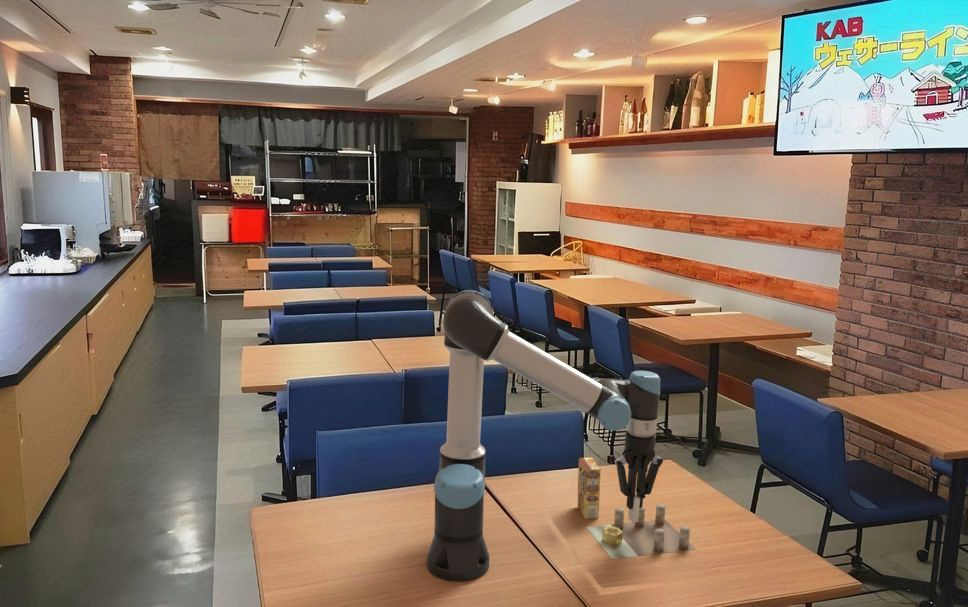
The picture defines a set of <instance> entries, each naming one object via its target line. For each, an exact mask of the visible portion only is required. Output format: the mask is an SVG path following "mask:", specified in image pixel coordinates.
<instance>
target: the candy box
mask: <svg viewBox="0 0 968 607" xmlns="http://www.w3.org/2000/svg"><path fill="white" fill-rule="evenodd" d="M601 469H602V468H600V466H599V465H598V464H597V462H596V461H595V459H594V458H593V457H579V458H578V473H577V474H578V477H577V478H578V479H577V505H576V506H577V509H579V511H580V513H581V515H582V516H583V517H584V519H599V517H600V516H599V515H600V494H601V487H600V486H601V471H602V470H601Z"/></svg>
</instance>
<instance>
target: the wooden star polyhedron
mask: <svg viewBox="0 0 968 607" xmlns="http://www.w3.org/2000/svg"><path fill="white" fill-rule="evenodd" d="M622 535H623V532H622V531H621V530H620V529H619V528H616V527H610V526H608V527H606V528H604V529H603V533H602V540H603V541H604V542H605V544H607V545H614V546H617V545H619V544H620V543H622Z"/></svg>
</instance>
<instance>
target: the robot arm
mask: <svg viewBox="0 0 968 607" xmlns="http://www.w3.org/2000/svg"><path fill="white" fill-rule="evenodd" d="M442 327H443V330H444V335H443V336H444V341H443V344H444V347H445V348H446V349H447V350H448V351H449V365H448V366H449V367H448V368H449V369H448V391H447V392H448V394H447V413H446V414H447V415H446V416H447V419H446V420H447V421H446V442H444V443H443V445H441V446H440V448H439V467H438V468H439V470H438V472H437V474H436V476H435V480H434V484H433V491H434V534H433V535H434V536H433V537H432V540H431V543H430V545H429V549H428V551H427V553H426V554H427V555H426V568H427V570H428V572H429V573H430V574H431V575H433V576H435V577H437V578H439V579H442V580H444V581H445V580H446V581H452V582H466V581H471V580H475V579H478V578H480V577H482V576H484V575H485V573H487V572H488V570H489V569H490V552H489V550H488V547H487V544H486V540H485V537H484V529H483V528H484V497H485V495H484V494H485V488H486V486H485V478H486V477H485V476H486V448H485V447H484V446H483V445H482V444H481V432H482V431H481V429H482V413H483V411H482V409H483V388H484V368H485V367H484V366H485V362H488V361H495V362H497V363H498V364H500V365H502V366H504V367H505V368H506V369H507V368H508V369H509V370H510V371H512V372H514V373H516V374H518V375H519V376H521V377H523V378H525V379H526V380H528V381H530V382H532V383H533V384H535V385H536V386H538V387H540V388H542V389H544V390H545V391H547V392H548V393H551V394H553V395H554V396H556V397H558V398H559V399H562V400H563V401H565V402H567V403H569V404H570V405H572V406H574V407H576V408H577V409H579V410H581V411H582V412H585V413H586V414H588V415H589V416H591V417H593V418H595V419H597V420H598V422H599V423H600V424H601V425H602V426H603V427H604V428H605V429H607V430H609V431H612V432H613V431H614V432H616V431H617V432H618V431H620V430H623V429H624V428H625V430H626V431H625V434H624V435H625V436H624V449H623V451H622V455H621V456H619V457H614V458H613V462H614V464H615V466H616V469H617V470H616V471H617V472H616V473H617V478H618V484H619V488H620V489H619V490H620V492H621V493H622V495H624V496H625V497H626V505H625V506H626V507H627V509H628V514H627V515H628V516H627V517H628V519H629V520H630V522H638V517H639V508H642V506H643V504H644V499H645V498H646V495H648V496H649V495H651V493H652V490H653V487H654V484H655V481H656V478H657V475H658V472H659V469H660V467H662V465H663V463H664V460H663V459H662V458H661V456H659V455H656V451H655V447H656V438H657V436H656V433H657V427H658V425H657V424H658V414H659V404H660V397H661V396H660V395H661V377H660V376H659V375H658V373H655V372H653V371H647V370H635V371H632V372H631V373H630V375H629V379H628V378H627V379H619V378H617V379H616V378H599V377H590V376H588V375H587V374H584V373H582V372H580V371H579V370H577V369H576V368H574V367H572V366H570V365H569V364H567V363H566V362H563V361H561V360H559V359H558V358H557V357H555V356H553V355H552V354H549V353H548V352H546V351H544V350H543V349H540V347H537V346H535V345H534V344H532V343H530V342H528V341H527V340H525V339H523V338H522V337H520V336H518V335H516V334H515V333H513V332H511V331H510V330H509V327H508V324H507V323H504V322H503V321H501V320H500V319H499V318H497V317H496V316H494V309H493V305H492V304H491V301H490V300H489V299H488V297H486V295H484V294H483V293H482V292H479V291H478V290H473V289H472V290H471V289H467V290H462V291H459V292H458V293H455V294H454V295H452V296H451V297H450V299H449V300H448V302H447V304H446V306H445V311H444V313H443V317H442ZM626 464H627V469H628V472H626V468H625V466H626ZM648 467H649V468H648ZM626 473H627V474H626Z"/></svg>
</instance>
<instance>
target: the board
mask: <svg viewBox="0 0 968 607" xmlns="http://www.w3.org/2000/svg"><path fill="white" fill-rule="evenodd" d="M645 513H646V508H645V507H644V506H643V505H642V508H639V517H638V522H632V521H630V522H625V509H624V508H621V507H616V508H615V509H614V524H613V523H612V524H605V525H603V524H602V525H594V526H586V529H587V531H588V532H590V534H591V535H592V536H593V537H594V539H595V540H596V541H597V543H598V544H599V545H600V546H601V547H602V548H603V550H604V551H605V552H606V554H607V555H608V556H609V558H610V559H611V560H617V559H624V558H635V557H643V556H644V557H645V556H652V555H653V556H654V555H660V554H670V553H679V552H688V551H696V550H698V549H697V548H696V547H695V546H694V545H692V544H691V543H690V533H691V532H690V531H691V528H690V527H688V526H685V525H681V526H680V527H679V531H678V530H677V529H676V528H675V527H673V525H672V524H670V523H669V522H668V520H666V505H664V504H662V503H658V504H656V507H655V519H653V520H645ZM608 526H610V527H616V528H619V529H620V530H621V531H622V532H623V535H622V543H620V544H619V545H617V546H614V545H607V544H605V542H604V541H603V540H602V533H603V529H604V528H606V527H608Z"/></svg>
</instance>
